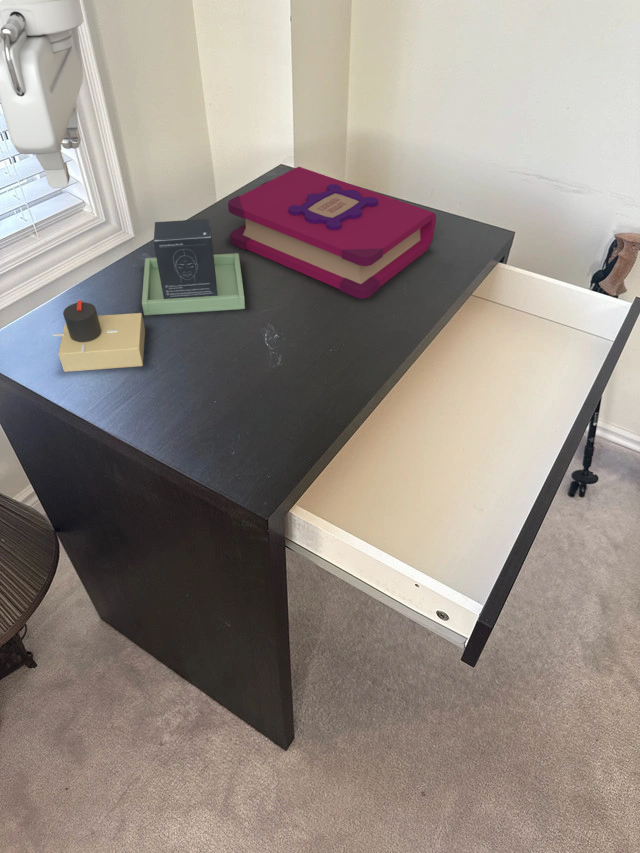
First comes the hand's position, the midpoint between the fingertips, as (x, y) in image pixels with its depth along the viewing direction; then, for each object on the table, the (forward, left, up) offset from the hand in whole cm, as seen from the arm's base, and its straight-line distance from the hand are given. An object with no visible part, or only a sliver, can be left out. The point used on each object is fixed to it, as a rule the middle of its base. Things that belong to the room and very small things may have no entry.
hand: (66, 164), depth 63 cm
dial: (-4, +5, -24) cm, 25 cm away
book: (+33, +30, -27) cm, 52 cm away
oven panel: (-2, +5, -27) cm, 28 cm away
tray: (+10, +19, -27) cm, 35 cm away
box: (+9, +17, -27) cm, 33 cm away
